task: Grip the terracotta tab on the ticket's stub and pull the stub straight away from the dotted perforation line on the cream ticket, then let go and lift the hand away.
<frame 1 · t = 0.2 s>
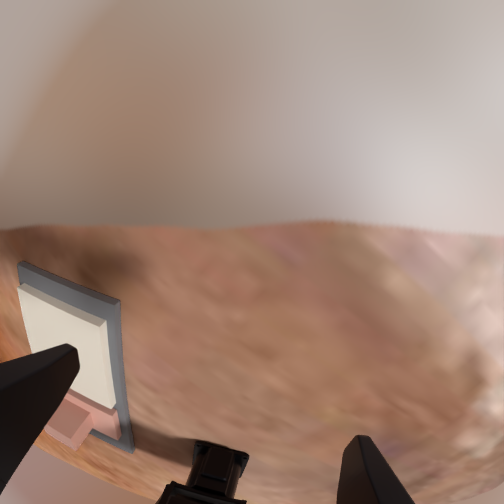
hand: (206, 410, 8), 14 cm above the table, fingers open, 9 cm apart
stub: (69, 418, 28), point 4 cm above the table, slide at 0.0 cm
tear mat: (78, 372, 30), on the table
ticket: (64, 351, 27), on the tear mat, point 1 cm above the table
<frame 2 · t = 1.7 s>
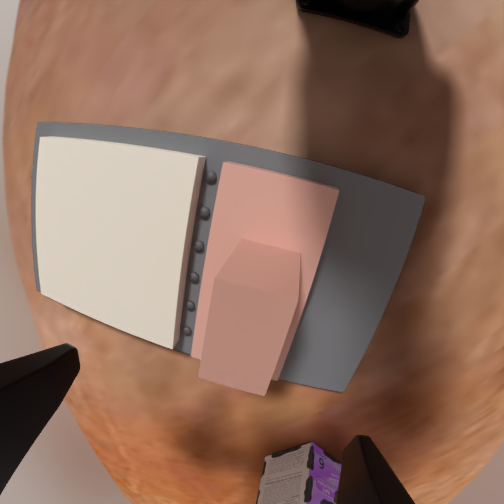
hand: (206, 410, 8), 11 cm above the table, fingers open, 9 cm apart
stub: (247, 304, 14), point 4 cm above the table, slide at 0.0 cm
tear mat: (179, 249, 19), on the table
candy box: (324, 473, 25), on the table
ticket: (105, 239, 17), on the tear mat, point 1 cm above the table
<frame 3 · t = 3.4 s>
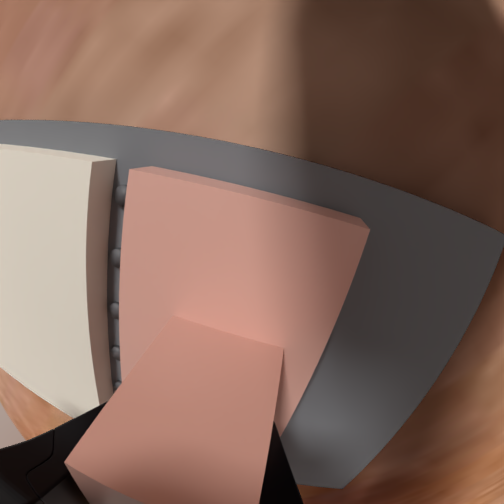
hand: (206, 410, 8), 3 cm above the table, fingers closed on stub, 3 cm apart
stub: (182, 436, 7), point 4 cm above the table, slide at 0.0 cm, touching gripper
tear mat: (100, 306, 11), on the table
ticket: (6, 285, 10), on the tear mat, point 1 cm above the table
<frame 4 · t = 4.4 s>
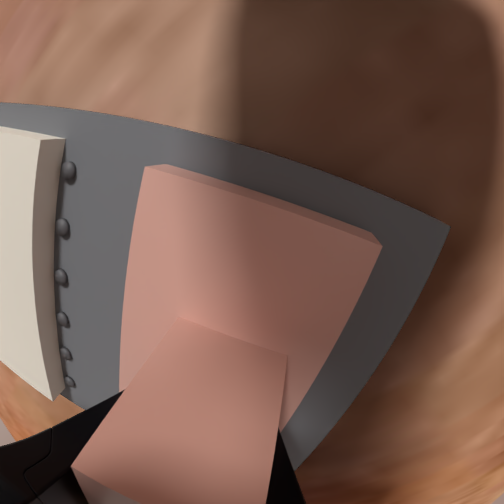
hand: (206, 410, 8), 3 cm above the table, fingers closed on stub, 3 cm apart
stub: (181, 437, 7), point 4 cm above the table, slide at 2.8 cm, touching gripper
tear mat: (53, 274, 11), on the table
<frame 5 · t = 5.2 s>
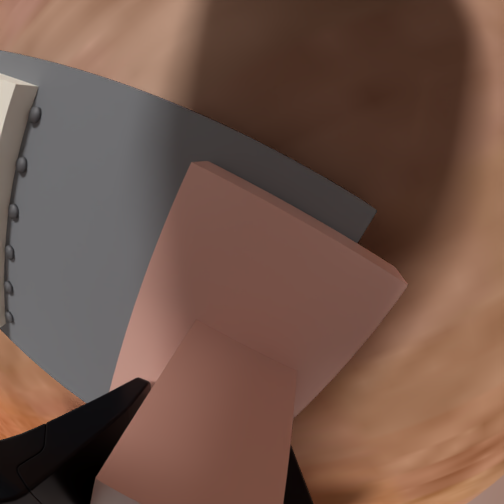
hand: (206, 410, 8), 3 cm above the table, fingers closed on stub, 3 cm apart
stub: (181, 438, 7), point 4 cm above the table, slide at 6.3 cm, touching gripper
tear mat: (11, 211, 11), on the table
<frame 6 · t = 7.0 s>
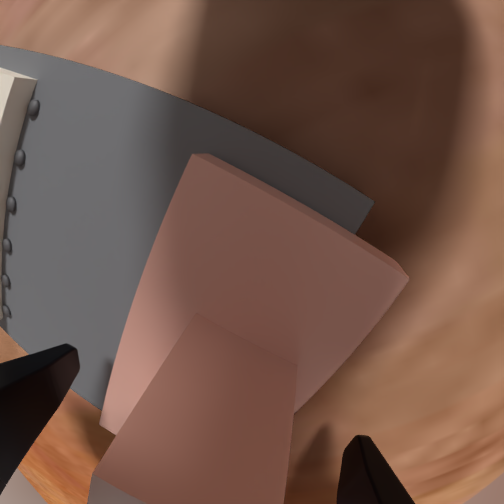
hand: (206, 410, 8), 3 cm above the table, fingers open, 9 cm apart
stub: (180, 434, 7), point 4 cm above the table, slide at 6.4 cm
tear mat: (9, 205, 11), on the table
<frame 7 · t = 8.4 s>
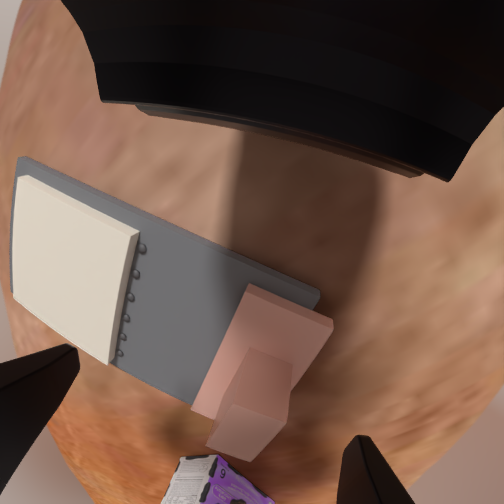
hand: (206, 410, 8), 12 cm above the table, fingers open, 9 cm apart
stub: (246, 398, 17), point 4 cm above the table, slide at 6.4 cm
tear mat: (119, 292, 22), on the table
candy box: (231, 481, 29), on the table
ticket: (63, 274, 20), on the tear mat, point 1 cm above the table
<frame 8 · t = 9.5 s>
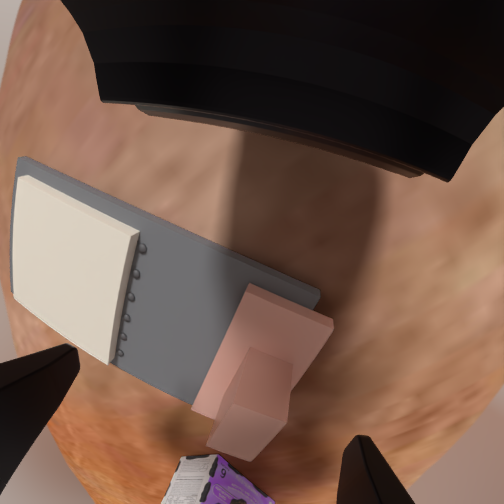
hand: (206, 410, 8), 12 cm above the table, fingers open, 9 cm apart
stub: (246, 397, 17), point 4 cm above the table, slide at 6.4 cm
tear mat: (119, 292, 22), on the table
candy box: (231, 481, 29), on the table
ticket: (63, 273, 20), on the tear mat, point 1 cm above the table
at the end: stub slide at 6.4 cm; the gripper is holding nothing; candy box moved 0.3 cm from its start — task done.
